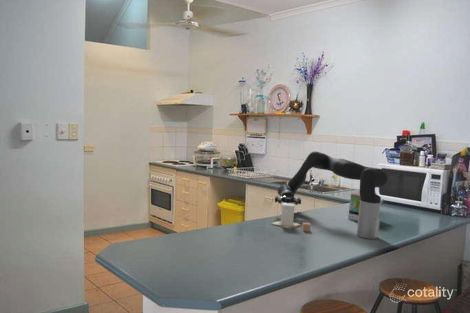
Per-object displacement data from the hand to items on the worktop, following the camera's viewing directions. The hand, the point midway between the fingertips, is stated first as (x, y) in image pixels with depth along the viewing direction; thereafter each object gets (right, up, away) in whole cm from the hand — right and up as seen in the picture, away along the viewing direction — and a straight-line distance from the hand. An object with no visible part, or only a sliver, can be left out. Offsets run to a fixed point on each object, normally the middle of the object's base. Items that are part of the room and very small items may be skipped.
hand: (288, 202), depth 216 cm
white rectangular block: (-2, -10, -10) cm, 14 cm away
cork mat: (-2, -10, -10) cm, 14 cm away
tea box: (+44, -12, +17) cm, 49 cm away
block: (+6, -12, -18) cm, 22 cm away
